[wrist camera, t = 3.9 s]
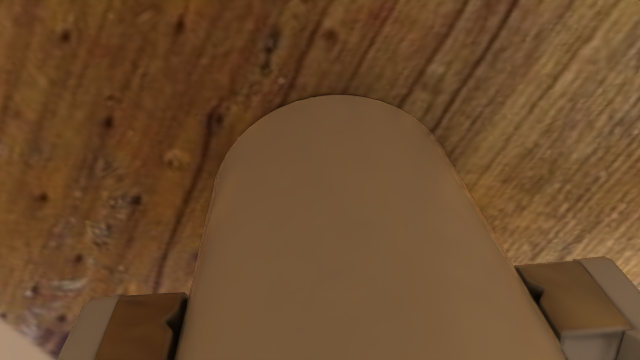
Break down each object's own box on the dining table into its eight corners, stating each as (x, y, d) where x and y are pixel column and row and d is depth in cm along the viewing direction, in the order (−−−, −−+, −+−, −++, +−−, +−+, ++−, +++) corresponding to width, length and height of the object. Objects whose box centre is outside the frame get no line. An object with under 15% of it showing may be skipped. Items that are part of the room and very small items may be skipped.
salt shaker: (177, 256, 12) (18, 817, 5) (274, 47, 10) (254, 495, 3) (377, 325, 13) (489, 839, 6) (502, 156, 11) (892, 641, 4)
